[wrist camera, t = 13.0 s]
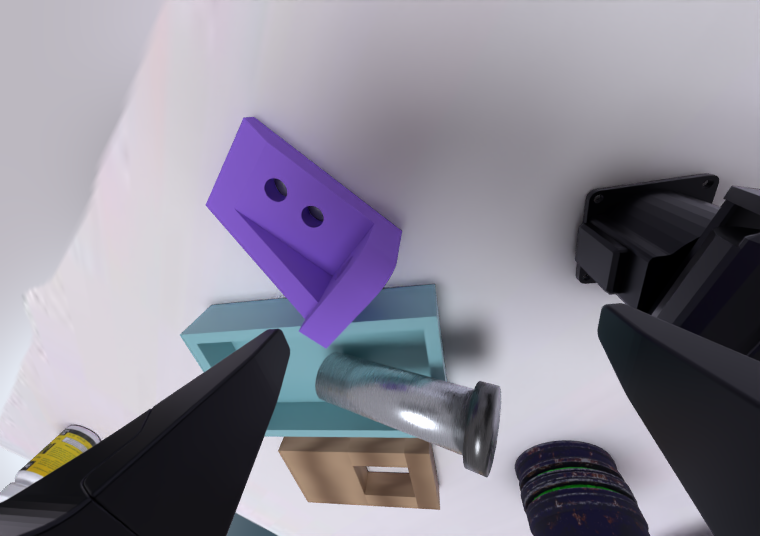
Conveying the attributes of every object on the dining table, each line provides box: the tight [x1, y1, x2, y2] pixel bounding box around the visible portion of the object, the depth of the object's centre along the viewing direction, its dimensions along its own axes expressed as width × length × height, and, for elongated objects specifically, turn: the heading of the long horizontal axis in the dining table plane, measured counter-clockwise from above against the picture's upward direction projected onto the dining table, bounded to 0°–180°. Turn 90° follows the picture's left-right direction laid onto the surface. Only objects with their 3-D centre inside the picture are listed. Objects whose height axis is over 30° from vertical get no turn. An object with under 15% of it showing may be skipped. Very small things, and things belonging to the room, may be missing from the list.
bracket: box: [206, 117, 402, 349], centre depth 19 cm, size 12×7×7 cm, turn 53°
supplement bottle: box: [0, 426, 100, 503], centre depth 38 cm, size 5×5×8 cm
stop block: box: [278, 437, 440, 510], centre depth 34 cm, size 16×11×2 cm, turn 101°
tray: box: [180, 284, 447, 438], centre depth 26 cm, size 20×13×4 cm, turn 101°
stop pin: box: [315, 352, 501, 477], centre depth 22 cm, size 5×5×13 cm
